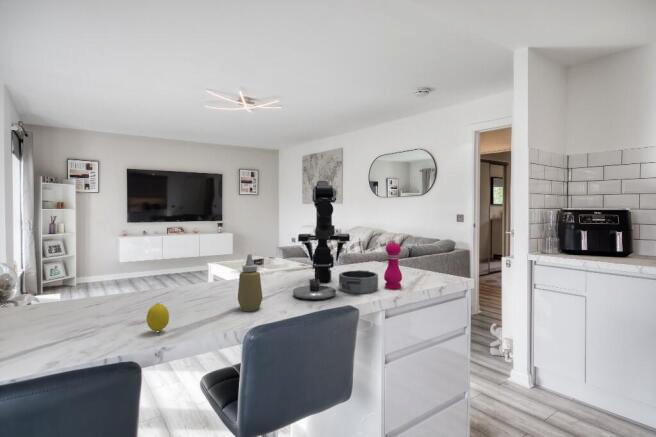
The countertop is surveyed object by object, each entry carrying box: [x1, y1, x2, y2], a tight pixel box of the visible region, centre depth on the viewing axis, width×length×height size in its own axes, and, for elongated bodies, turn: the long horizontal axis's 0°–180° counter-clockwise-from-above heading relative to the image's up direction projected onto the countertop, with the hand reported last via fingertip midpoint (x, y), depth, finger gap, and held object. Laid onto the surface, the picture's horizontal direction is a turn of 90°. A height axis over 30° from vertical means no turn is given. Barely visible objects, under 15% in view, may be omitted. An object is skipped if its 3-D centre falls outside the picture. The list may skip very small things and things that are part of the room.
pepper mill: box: [383, 238, 403, 291], centre depth 151 cm, size 7×7×20 cm
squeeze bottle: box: [237, 254, 263, 312], centre depth 122 cm, size 8×8×18 cm
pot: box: [338, 269, 379, 295], centre depth 149 cm, size 15×21×6 cm
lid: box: [292, 278, 337, 301], centre depth 140 cm, size 16×16×6 cm
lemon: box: [146, 302, 170, 332], centre depth 101 cm, size 6×6×8 cm
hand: (324, 261), depth 138 cm, fingers open, 9 cm apart
